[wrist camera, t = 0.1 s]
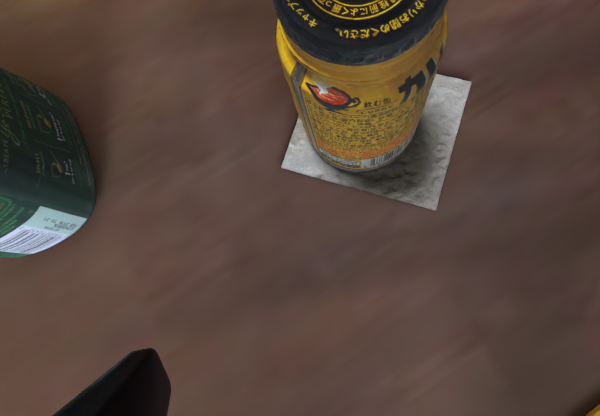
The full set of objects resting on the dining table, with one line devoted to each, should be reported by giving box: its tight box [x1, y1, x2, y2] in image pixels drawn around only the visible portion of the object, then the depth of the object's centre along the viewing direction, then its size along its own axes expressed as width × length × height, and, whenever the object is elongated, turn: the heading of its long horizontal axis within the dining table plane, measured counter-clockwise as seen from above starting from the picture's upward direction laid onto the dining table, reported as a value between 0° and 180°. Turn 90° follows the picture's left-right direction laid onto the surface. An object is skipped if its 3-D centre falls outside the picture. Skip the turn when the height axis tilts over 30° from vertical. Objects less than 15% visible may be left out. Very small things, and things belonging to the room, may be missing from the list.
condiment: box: [273, 0, 471, 210], centre depth 18 cm, size 7×8×12 cm
